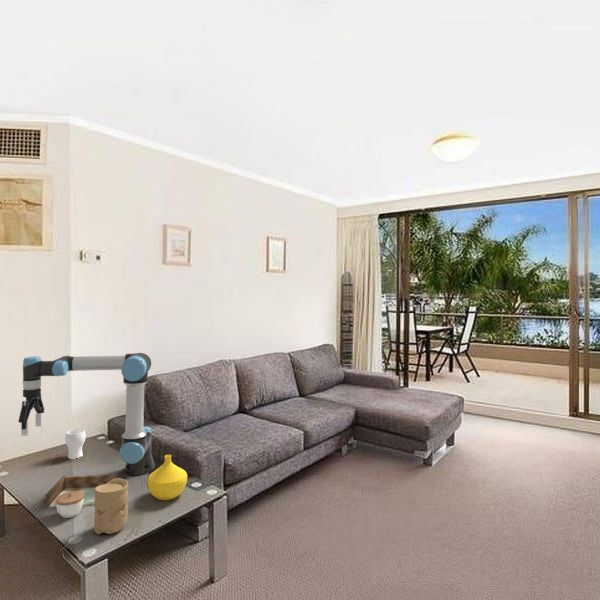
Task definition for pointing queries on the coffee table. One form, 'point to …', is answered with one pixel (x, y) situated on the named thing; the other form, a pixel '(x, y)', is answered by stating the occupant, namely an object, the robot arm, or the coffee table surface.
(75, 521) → the coffee table surface
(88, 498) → the pad
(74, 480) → the walls
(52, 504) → the board
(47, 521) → the coffee table surface
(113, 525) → the container
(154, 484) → the vase
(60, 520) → the coffee table surface
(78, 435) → the cup
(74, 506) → the lidded jar
